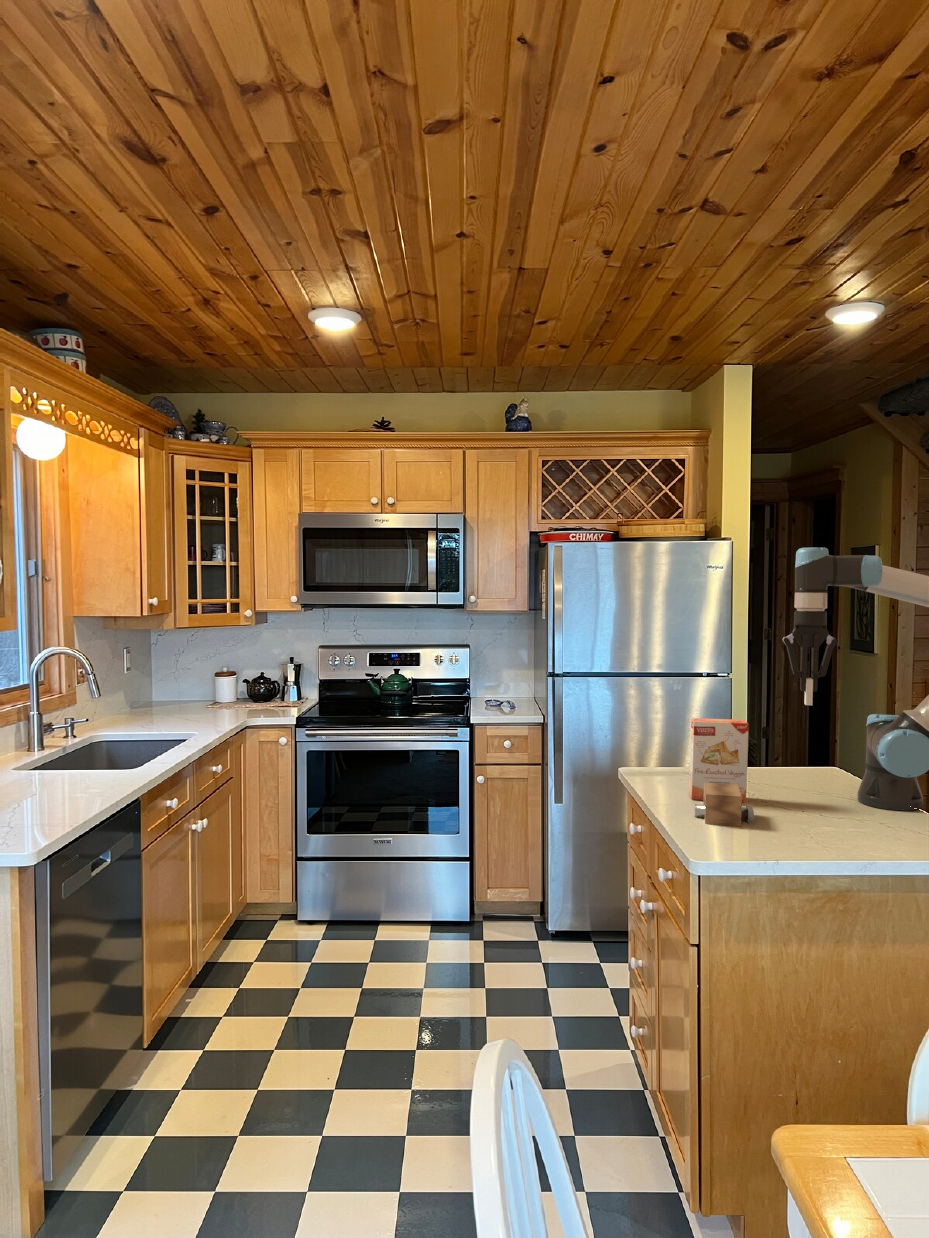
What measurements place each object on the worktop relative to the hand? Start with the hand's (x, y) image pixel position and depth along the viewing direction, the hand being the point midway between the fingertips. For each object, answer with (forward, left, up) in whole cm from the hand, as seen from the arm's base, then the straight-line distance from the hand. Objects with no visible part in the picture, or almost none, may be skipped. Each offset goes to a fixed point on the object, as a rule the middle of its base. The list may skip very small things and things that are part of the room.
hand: (808, 704), depth 209 cm
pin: (+21, +14, -27) cm, 37 cm away
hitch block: (+21, +14, -26) cm, 37 cm away
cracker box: (+21, -5, -27) cm, 34 cm away
